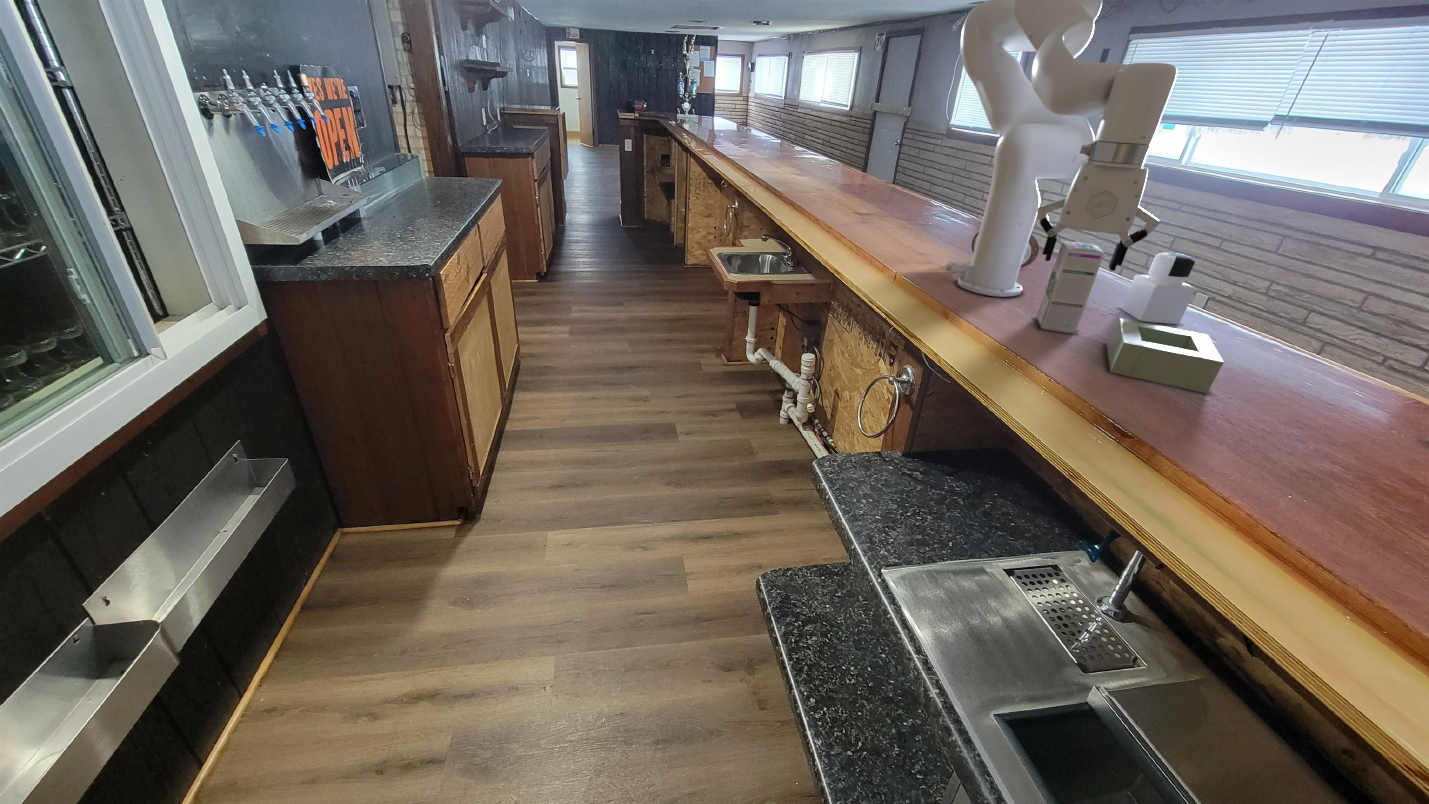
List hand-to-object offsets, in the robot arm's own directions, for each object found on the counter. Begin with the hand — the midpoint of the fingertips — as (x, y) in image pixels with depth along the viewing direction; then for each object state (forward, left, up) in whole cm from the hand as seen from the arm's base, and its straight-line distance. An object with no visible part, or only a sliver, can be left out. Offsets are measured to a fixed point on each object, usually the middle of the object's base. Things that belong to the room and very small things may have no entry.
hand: (1078, 264), depth 96 cm
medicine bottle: (+16, +17, -12) cm, 26 cm away
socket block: (+14, -11, -12) cm, 21 cm away
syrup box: (0, 0, -12) cm, 12 cm away
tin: (-13, +39, -12) cm, 43 cm away
